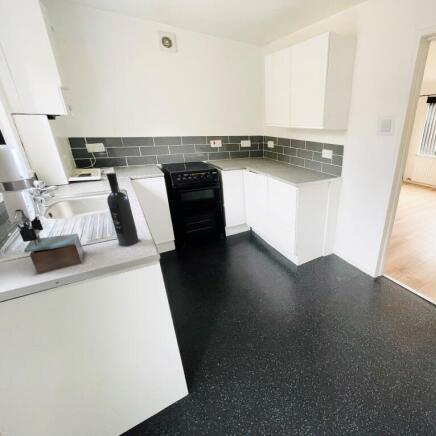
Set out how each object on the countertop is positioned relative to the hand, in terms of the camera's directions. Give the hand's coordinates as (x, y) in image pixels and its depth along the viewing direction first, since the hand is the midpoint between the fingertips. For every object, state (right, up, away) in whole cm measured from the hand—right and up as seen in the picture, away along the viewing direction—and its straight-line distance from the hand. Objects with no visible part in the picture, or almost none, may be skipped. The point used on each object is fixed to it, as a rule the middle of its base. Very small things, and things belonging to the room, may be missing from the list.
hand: (34, 235), depth 83 cm
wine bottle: (+19, -5, +21) cm, 29 cm away
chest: (+4, -11, +6) cm, 13 cm away
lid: (+3, -3, +3) cm, 6 cm away
